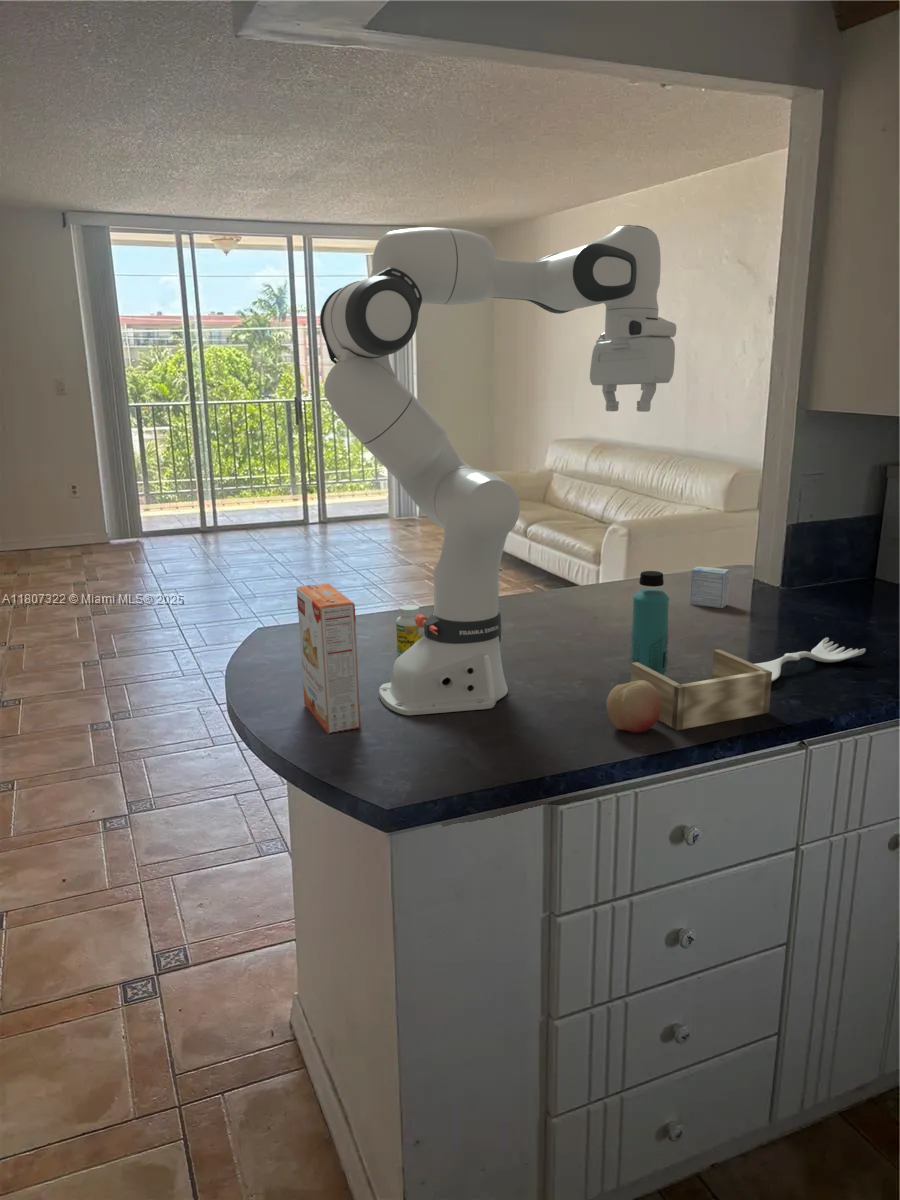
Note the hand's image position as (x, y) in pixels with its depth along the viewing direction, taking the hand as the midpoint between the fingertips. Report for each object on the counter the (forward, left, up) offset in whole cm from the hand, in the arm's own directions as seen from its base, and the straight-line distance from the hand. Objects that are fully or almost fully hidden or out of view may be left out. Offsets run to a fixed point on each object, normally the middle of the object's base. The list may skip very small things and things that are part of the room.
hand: (627, 411), depth 153 cm
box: (+1, -22, -47) cm, 52 cm away
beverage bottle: (+1, -8, -47) cm, 48 cm away
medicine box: (+44, +30, -48) cm, 72 cm away
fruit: (-14, -26, -47) cm, 56 cm away
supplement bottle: (-33, +24, -47) cm, 62 cm away
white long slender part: (+28, -14, -48) cm, 57 cm away
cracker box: (-56, -2, -47) cm, 73 cm away
